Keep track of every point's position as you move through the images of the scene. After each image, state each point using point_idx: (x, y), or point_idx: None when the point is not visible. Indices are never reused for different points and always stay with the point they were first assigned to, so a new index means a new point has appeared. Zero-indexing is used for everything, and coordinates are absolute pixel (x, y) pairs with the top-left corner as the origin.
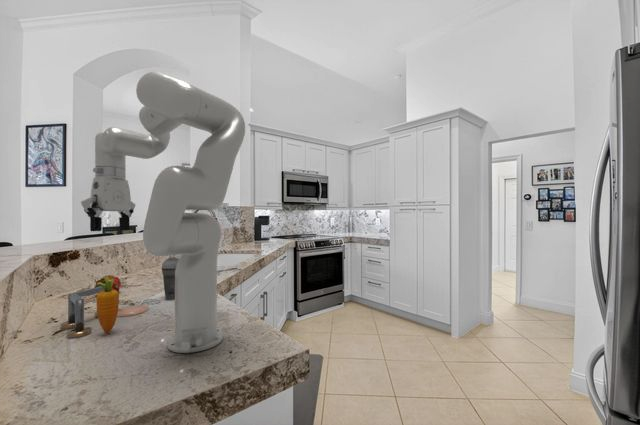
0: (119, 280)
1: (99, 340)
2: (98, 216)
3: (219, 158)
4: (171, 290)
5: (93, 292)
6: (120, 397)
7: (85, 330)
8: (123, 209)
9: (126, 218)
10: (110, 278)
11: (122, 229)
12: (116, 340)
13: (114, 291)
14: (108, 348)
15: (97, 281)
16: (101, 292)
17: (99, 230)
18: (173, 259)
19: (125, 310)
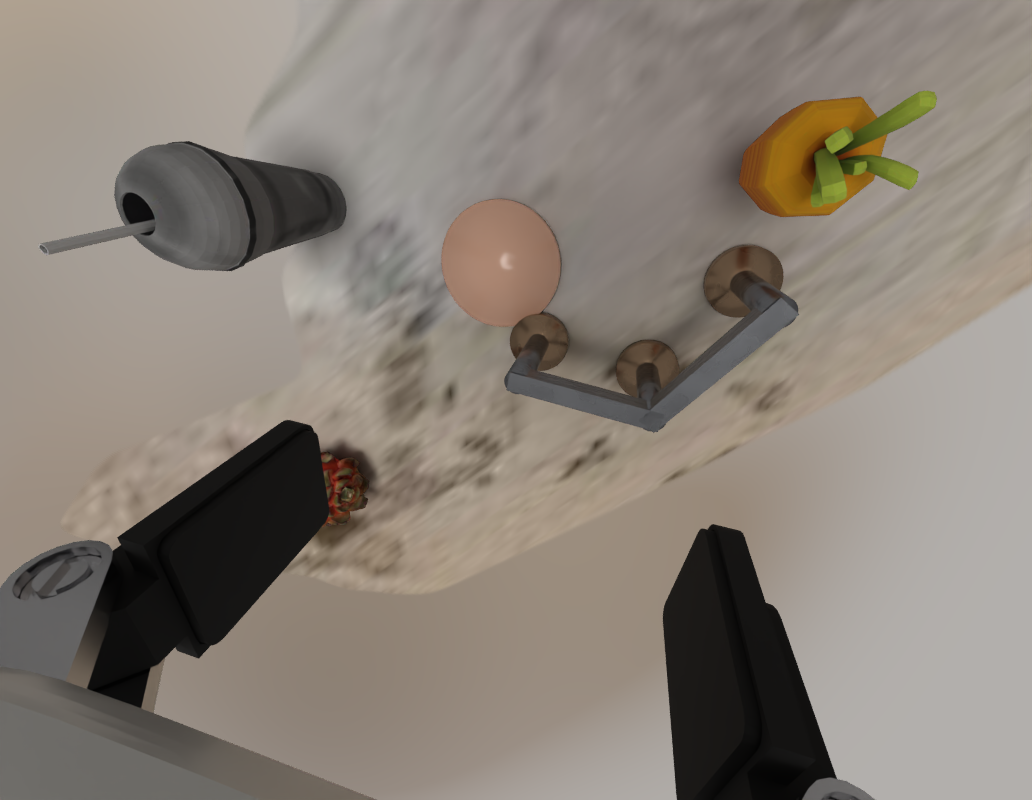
0: None
1: None
2: (822, 792)
3: None
4: (316, 188)
5: (577, 383)
6: None
7: (746, 261)
8: (101, 760)
9: (184, 549)
10: None
11: (317, 490)
12: (851, 60)
13: (833, 114)
14: (952, 19)
15: (341, 521)
16: (856, 177)
17: (739, 531)
18: (157, 185)
19: (507, 284)
